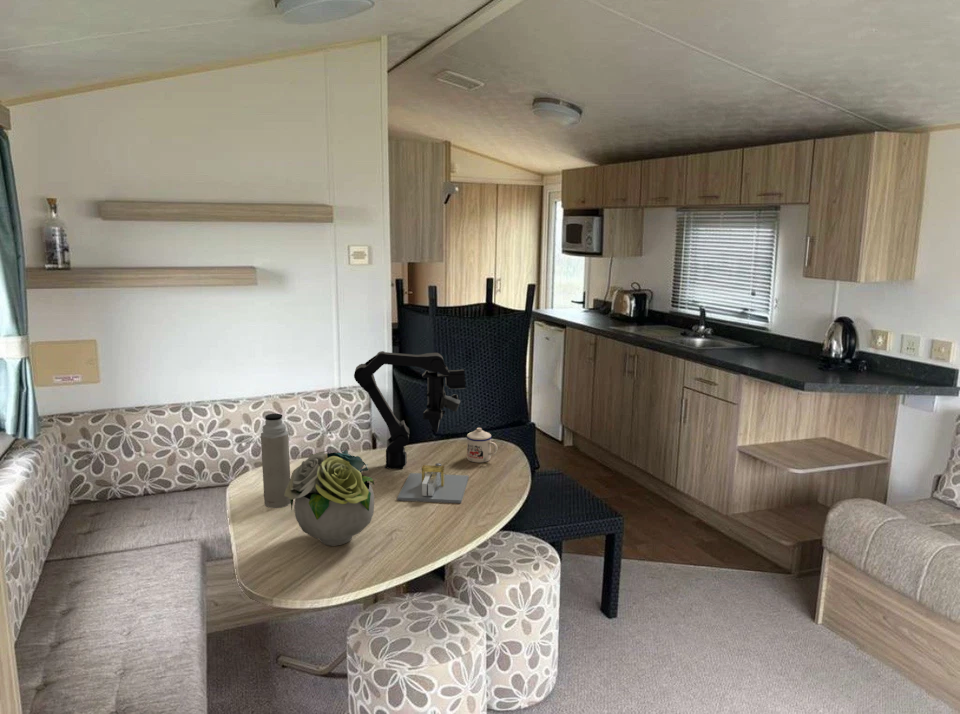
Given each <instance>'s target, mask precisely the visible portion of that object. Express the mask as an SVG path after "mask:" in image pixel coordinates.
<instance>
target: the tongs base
mask: <svg viewBox="0 0 960 714" xmlns="http://www.w3.org/2000/svg"><path fill="white" fill-rule="evenodd" d="M434 466H442V463H439V462H438V463H435V464H434ZM432 474H433V472H426V473H425V478H424V480H423V482H422V472H421V473H419V472H418V473H417V472H410V473H409V475H408V477H407V478H406V480H405V482H404V484H403V486H402V488H401V489H400V492H399V493H398V495H397V501H404V502H405V501H406V502H422V503H423V502H424V503H425V502H426V503H431V502H432V503H446V504H447V503H448V504H449V503H450V504H451V503H452V504H462V502H463V499H464V494H465V493H466V491H465V490H466V488H467V485H468V482H469V475H468V474H467V475H465V474H445V473H444V486H441V472H440V480H439V482H438V485H437V487H436V490H435V492H434V494H433V496H428V483H429V480H430V478H431V476H432Z"/></svg>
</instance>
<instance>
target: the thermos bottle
mask: <svg viewBox="0 0 960 714" xmlns="http://www.w3.org/2000/svg"><path fill="white" fill-rule="evenodd" d="M264 417H265V424H264V425H263V426H262V432H261V433H260V446H261V465H262V481H263V483H262V484H263V485H262V486H263V498H264V506H265V507H267V508H269V509H279V508H284V507H287V506H289V505H291V502H290V498H289V497H286V496H284V494H285V490H286V488H287V486H288V484H289V481H290V479H291V465H290V464H291V463H290V446H289V445H290V444H289V443H290V442H289V431H287V430H286V429H287V427H286V424H285V423H283V414H281V413H268V414H266V415H265V416H264Z"/></svg>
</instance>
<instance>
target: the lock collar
mask: <svg viewBox="0 0 960 714" xmlns="http://www.w3.org/2000/svg"><path fill="white" fill-rule="evenodd" d="M427 472H441V486H444V474H445V466H444V465H441V466H435V465H426V464H425V465H424V464H423V465H422V467H421V473H422V482H423V480H424V478H425V474H426V473H427Z"/></svg>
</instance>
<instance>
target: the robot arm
mask: <svg viewBox="0 0 960 714" xmlns="http://www.w3.org/2000/svg"><path fill="white" fill-rule="evenodd" d="M385 365H389V366H401V367H402V366H404V367H416V368H420V369H423V370H425V371H424V372H423V373H422V374H421V376H422V378H423V379H427V393H426V397H427V404H426V409H425V410H424V411H423V413H422V419H423V420H426V421H427V420H428V421H429V424H430V426H431V428H432V431H433V432H434V433H438V432H439V427H440V422H441V420H442V418H443V417H444V415H445V413H446V410H443V409H445V408H446V409H448V410H451V411H452V412H457V411H458V409H459V406H460V403H461V399H459V394H456V393H453V394H452V395H446V394H447V393H446V390H445V387H447V388H448V389H449V390H466V385H467V384H466V376H465V369H449V367H448V366H447V365H446V364H445V361H444V358H443V356H442V354H441V353H438V352H426V353H422V354H414V353H413V354H411V353H398V352H388V351H387V352H386V351H383V350H382V351H381V350H380V351H379V352H377V354H376V355H374V356H372V357H371V358H370V359H369V360H367V361H366V362H364V363H361V364H358V365H357V366H356V368H355V371H354V373H353V378H354V380H355V382H356V383H357V384H358V385H359V386H360V387H361V388H362V389H363V390H364V391H365V392H366V393H367V394H368V396H369V397H370V399H371V401H372V403H373V405H375V408H376V409H377V411H378V412H379V414H380V415H381V418H382V419H383V421H384V422H385V424H386V426H387V428H388V433H389V435H390V436H389V437H388V439H387V440H386V441H387V442H386V449H385V466H384V469H399V470H400V469H401V470H402V469H404V468H405V466H406V465H407V460H408V459H407V455H408V454H407V452H406V446H407V445H408V444H409V443H410V428H409V427H408V426H407V425H406V423H405V420H404V419H403V420H399V419H398V418H397V417H396V415H395V414H394V412H393V410H392V408H391V406H390V405H389V404H388V402H387V400H386V398H385V396H384V395H383V394H382V392H381V390H380V389H379V386H378V384H377V381H376V379H375V375H374V374H375V373H376V372H377V371H378V370H380V368H381V367H382V366H385ZM444 379H445V380H444Z"/></svg>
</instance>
